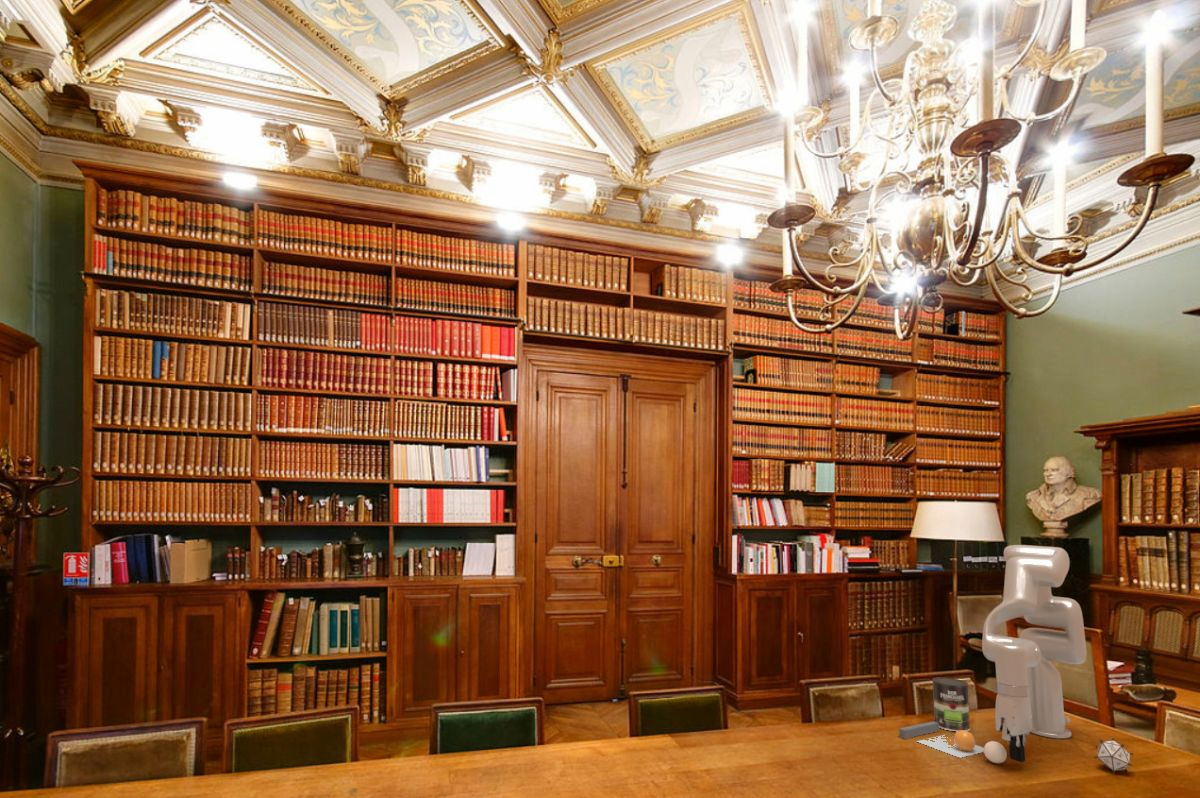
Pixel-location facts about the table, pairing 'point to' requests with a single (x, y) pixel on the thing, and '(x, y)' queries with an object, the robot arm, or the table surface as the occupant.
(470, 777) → the table surface
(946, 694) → the coffee can
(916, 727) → the bar
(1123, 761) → the game die
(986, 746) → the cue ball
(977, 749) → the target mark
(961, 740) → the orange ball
